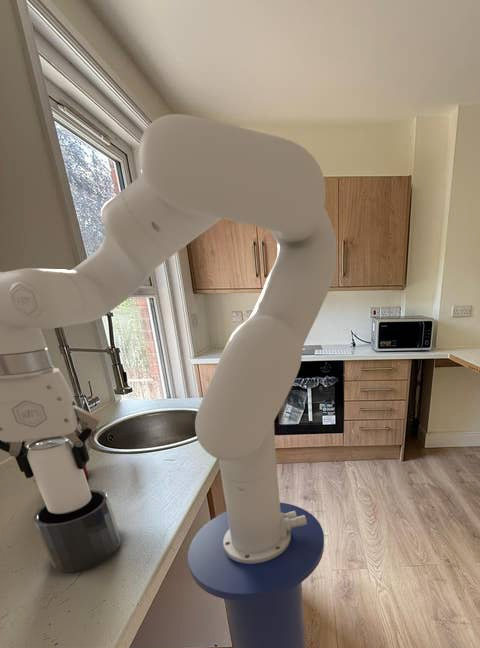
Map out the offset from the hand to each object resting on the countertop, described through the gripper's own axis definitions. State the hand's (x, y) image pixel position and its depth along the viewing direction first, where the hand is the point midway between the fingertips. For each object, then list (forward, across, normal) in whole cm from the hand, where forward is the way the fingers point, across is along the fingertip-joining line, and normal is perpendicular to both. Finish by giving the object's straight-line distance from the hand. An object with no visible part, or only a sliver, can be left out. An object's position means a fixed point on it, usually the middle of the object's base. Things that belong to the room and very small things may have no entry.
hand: (58, 469), depth 58 cm
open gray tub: (+17, 0, 0) cm, 17 cm away
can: (+7, 0, 0) cm, 7 cm away
